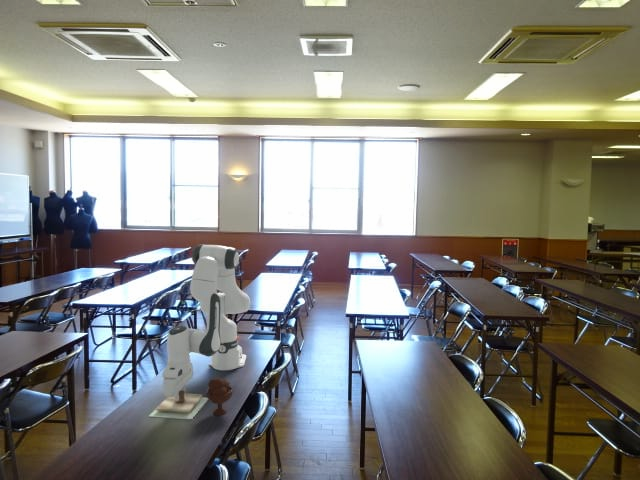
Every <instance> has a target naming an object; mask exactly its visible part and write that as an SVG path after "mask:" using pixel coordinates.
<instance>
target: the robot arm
mask: <svg viewBox="0 0 640 480" xmlns="http://www.w3.org/2000/svg"><path fill="white" fill-rule="evenodd" d="M191 260H192V262H193V264H194V268H193V272H192V275H191V276H192V277H191V281H190V287H189V290H190V292H189V293H190V295H191V296H192V297H193V299H195V300H196V301H197V302H199V307H200V311H201V312H203V314H205V315H206V330H201V329H197V328H188V327H187V326H186V325H176V326H174V327H172V328H171V329H169V330H168V333H167V338H166V340H167V341H166V348H167V349H166V351H167V353H168V354H167V355H168V357H167V364H166V365H165V368H164V369H163V371H162V372H161V376H162V378H163V381H162V387H163V395H164V397H165V398H167V397H174V400H175V401H179V399H180V395H179V394H178V393H179V391H180V390H183V391H184V394H186V389H187V385H188V383H189V382H190V381H191V380H192V379H193V377H194V367H193V366H194V365H193V362H191V356H190V353H194V354H199V355H203V356H205V357H211V361H210V362H209V366H211V367H212V368H213V369H215V370H217V371H232V370H234V369H238V368H243V367H244V366H245V363H246V359H247V355H246V354H244V353H243V348H242V347H241V345H239V339H240V337H239V335H238V332H237V328H238V326H237V324H236V322H235V321H234V320H232V319H229V318H228V317H227V316H226V314H227V315H228V314H232V315H233V314H234V315H236V314H241V313H247V312H248V310H249V309H250V307H251V304H252V303H251V298H250V296H249V295H248V294H247V293H246V292H244V291H243V290H242V289H240V287H239V285H238V284H237V279H236V274H235V273H236V268H237V266H238V264H239V262H240V261H239V260H240V253H239V251H238V249H236V248H235V247H231V246H225V245H219V244H204V243H200V244H197V245H196V246H195V247H194V248H193V249H192V252H191ZM218 291H219V292H218ZM237 335H238V336H237Z"/></svg>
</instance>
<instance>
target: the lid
mask: <svg viewBox="0 0 640 480" xmlns="http://www.w3.org/2000/svg"><path fill="white" fill-rule="evenodd" d="M178 394H179V395H180V399H179V401H175V400H174V397H165V399H164V400H163V401H162V402H160V404H159V405H158V406H157V407H156V408H155V409H156V410H158V411H172V412H187V413H189V412H190V411H191V410H192V408H193V407H194V406H195V405H196V404H197V402H198V401H199V400H200V399H201V398H202V397H204V396H203V394H199V393H185V394H184V391H183V390H180V391H179V393H178Z"/></svg>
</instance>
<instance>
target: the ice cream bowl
mask: <svg viewBox="0 0 640 480" xmlns="http://www.w3.org/2000/svg"><path fill="white" fill-rule="evenodd" d="M233 391H234V387H233V386H231V385H230V382H229V381H228V380H226V379H225V378H221V377H220V376H218V377H217V376H216V377H212V379H210V380H209V381H208V388H206V390H205V396H206V398H208V400H209V401H210V402H212V403H213V404H215V405H217V407H216V409H214V410H213V415H214V416H224V415H225V414H227V411H228V410H227V409H226V408H224V407H223V404H224V403H226V402H227V401H229V400H231V398H232V395H233Z"/></svg>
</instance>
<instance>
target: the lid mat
mask: <svg viewBox="0 0 640 480" xmlns="http://www.w3.org/2000/svg"><path fill="white" fill-rule="evenodd" d="M208 400H209V399H208V398H207V396H206V397H204V396H203V397H202V398H201V399H200V400H199V401H198V402H197V404H196V405H195V406H194V407H193V408H192V410H191V411H190V412H189V413H187V412H172V411H158V410H156V408H155V409H154V410H153V411H152V412H151V413H150V414H149V415H148V417H149V418H159V419H160V418H163V419H176V420H178V419H179V420H190V419H191V420H193V419H194V418H193V417H196V415H197V414H198V413H199V412H200V410H201V409H203V407H204V406H205V405H206V403H207V402H208ZM198 411H199V412H198Z"/></svg>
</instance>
